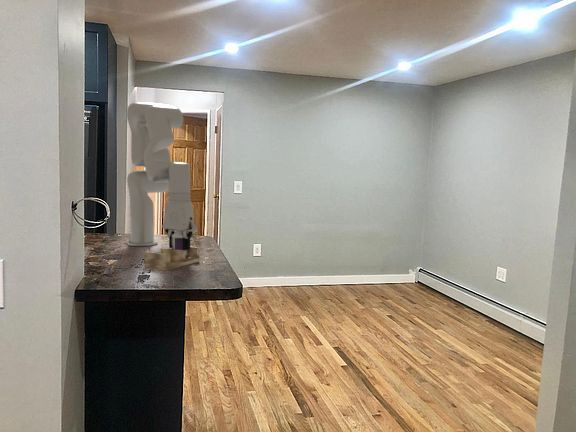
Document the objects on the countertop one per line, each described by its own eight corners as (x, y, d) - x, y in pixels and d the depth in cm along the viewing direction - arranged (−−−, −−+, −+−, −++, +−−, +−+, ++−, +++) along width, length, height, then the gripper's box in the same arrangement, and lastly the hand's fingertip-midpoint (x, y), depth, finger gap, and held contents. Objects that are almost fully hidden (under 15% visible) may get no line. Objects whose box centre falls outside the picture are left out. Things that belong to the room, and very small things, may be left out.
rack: (144, 266, 157) (144, 251, 156) (177, 258, 172) (177, 244, 171) (168, 270, 153) (167, 254, 152) (199, 261, 167) (199, 247, 167)
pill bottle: (190, 254, 166) (190, 227, 165) (179, 257, 162) (179, 229, 161) (179, 252, 169) (179, 226, 168) (168, 255, 164) (168, 228, 163)
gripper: (153, 197, 163) (153, 247, 166) (192, 199, 156) (192, 252, 158) (167, 195, 170) (168, 244, 172) (205, 198, 163) (205, 249, 165)
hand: (179, 247), depth 165 cm, fingers closed on pill bottle, 5 cm apart
